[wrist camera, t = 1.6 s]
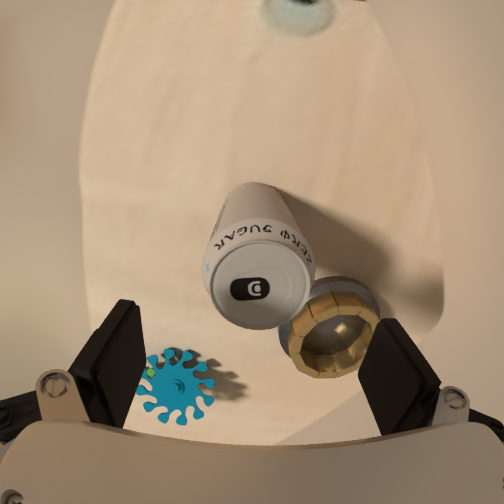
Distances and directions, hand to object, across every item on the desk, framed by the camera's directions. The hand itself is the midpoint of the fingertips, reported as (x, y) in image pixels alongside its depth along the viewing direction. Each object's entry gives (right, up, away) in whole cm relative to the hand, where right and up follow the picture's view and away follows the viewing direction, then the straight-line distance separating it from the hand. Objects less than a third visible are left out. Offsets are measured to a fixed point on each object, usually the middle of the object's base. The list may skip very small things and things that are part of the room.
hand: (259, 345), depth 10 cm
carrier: (+9, -5, +22) cm, 24 cm away
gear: (-10, -11, +25) cm, 29 cm away
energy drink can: (0, +7, +17) cm, 19 cm away
